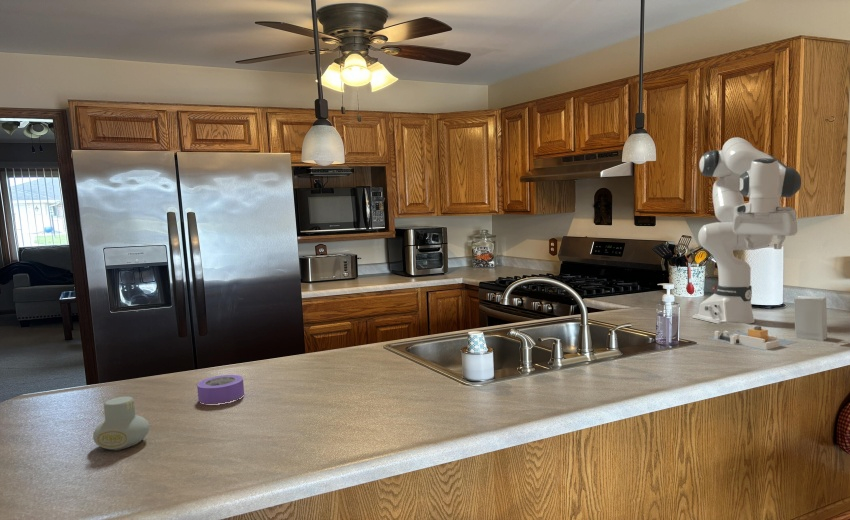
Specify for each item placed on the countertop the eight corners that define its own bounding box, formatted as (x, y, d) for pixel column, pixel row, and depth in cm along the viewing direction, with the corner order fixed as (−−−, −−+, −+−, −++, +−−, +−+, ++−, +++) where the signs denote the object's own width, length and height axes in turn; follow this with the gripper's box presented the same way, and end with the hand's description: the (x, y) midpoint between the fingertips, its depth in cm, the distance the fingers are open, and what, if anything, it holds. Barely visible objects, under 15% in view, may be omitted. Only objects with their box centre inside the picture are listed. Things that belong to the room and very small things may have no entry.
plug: (747, 344, 188) (748, 326, 188) (755, 342, 190) (755, 324, 189) (759, 347, 185) (760, 328, 184) (767, 345, 186) (767, 326, 186)
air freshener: (156, 436, 132) (152, 393, 131) (139, 451, 124) (135, 405, 123) (107, 438, 132) (103, 395, 131) (87, 453, 124) (83, 408, 123)
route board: (706, 341, 198) (706, 330, 198) (739, 334, 207) (739, 323, 206) (763, 353, 181) (763, 340, 180) (797, 345, 189) (797, 333, 189)
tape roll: (196, 408, 150) (194, 389, 150) (200, 395, 162) (199, 377, 161) (243, 402, 153) (242, 384, 153) (245, 390, 165) (243, 372, 164)
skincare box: (827, 340, 193) (828, 296, 192) (822, 344, 189) (823, 299, 188) (798, 337, 199) (798, 294, 198) (793, 340, 195) (793, 296, 194)
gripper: (802, 206, 186) (801, 249, 188) (741, 207, 204) (741, 246, 206) (790, 207, 183) (789, 250, 185) (730, 208, 201) (729, 247, 203)
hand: (763, 248), depth 195 cm, fingers open, 8 cm apart
